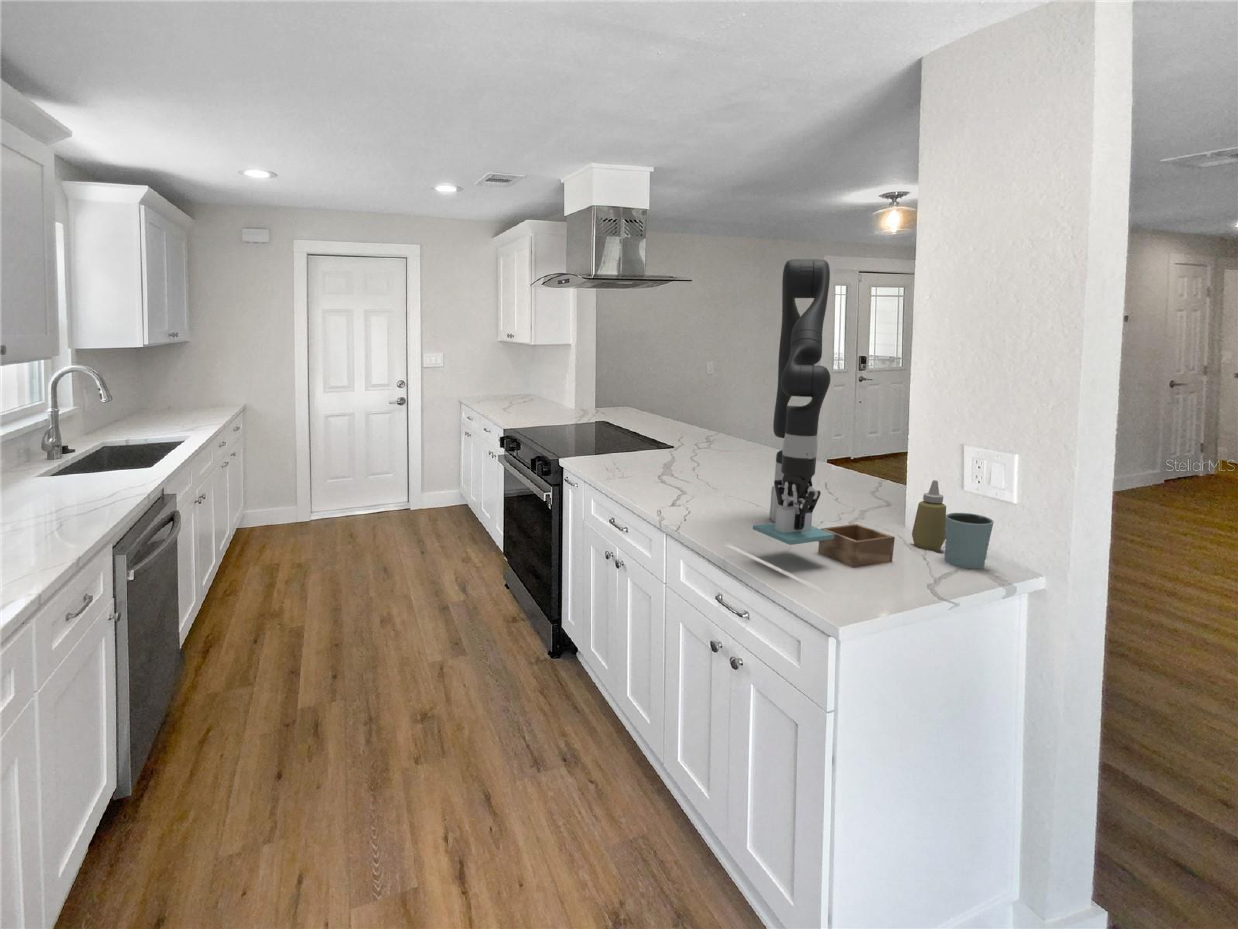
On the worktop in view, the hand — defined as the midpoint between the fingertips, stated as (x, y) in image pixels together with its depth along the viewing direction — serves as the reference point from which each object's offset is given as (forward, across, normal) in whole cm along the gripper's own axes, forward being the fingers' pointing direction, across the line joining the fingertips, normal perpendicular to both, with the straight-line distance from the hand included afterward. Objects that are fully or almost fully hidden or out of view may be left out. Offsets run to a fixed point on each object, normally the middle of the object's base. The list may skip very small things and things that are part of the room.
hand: (793, 527), depth 166 cm
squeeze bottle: (+9, +3, +42) cm, 43 cm away
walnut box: (+9, +3, +17) cm, 20 cm away
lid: (+2, 0, 0) cm, 2 cm away
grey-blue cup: (+10, +16, +39) cm, 43 cm away
